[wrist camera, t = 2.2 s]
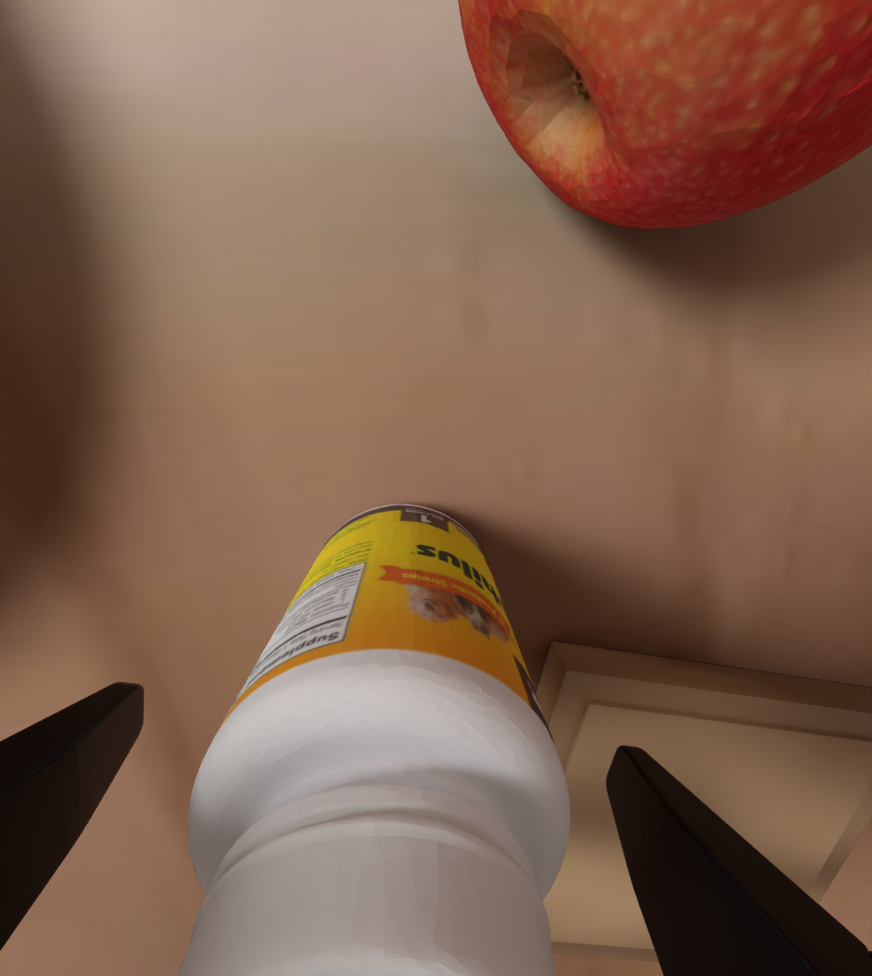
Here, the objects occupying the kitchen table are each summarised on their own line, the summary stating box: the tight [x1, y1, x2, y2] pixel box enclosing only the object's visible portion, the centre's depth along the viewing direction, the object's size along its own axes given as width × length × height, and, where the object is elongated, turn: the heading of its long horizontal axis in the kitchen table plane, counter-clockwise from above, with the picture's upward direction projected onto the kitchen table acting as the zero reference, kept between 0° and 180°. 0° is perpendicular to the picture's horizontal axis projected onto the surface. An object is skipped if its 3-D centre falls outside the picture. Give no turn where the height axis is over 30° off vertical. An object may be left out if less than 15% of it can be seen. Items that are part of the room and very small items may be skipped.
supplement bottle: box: [178, 504, 570, 976], centre depth 9 cm, size 6×6×10 cm
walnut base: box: [536, 641, 872, 962], centre depth 16 cm, size 13×13×2 cm
